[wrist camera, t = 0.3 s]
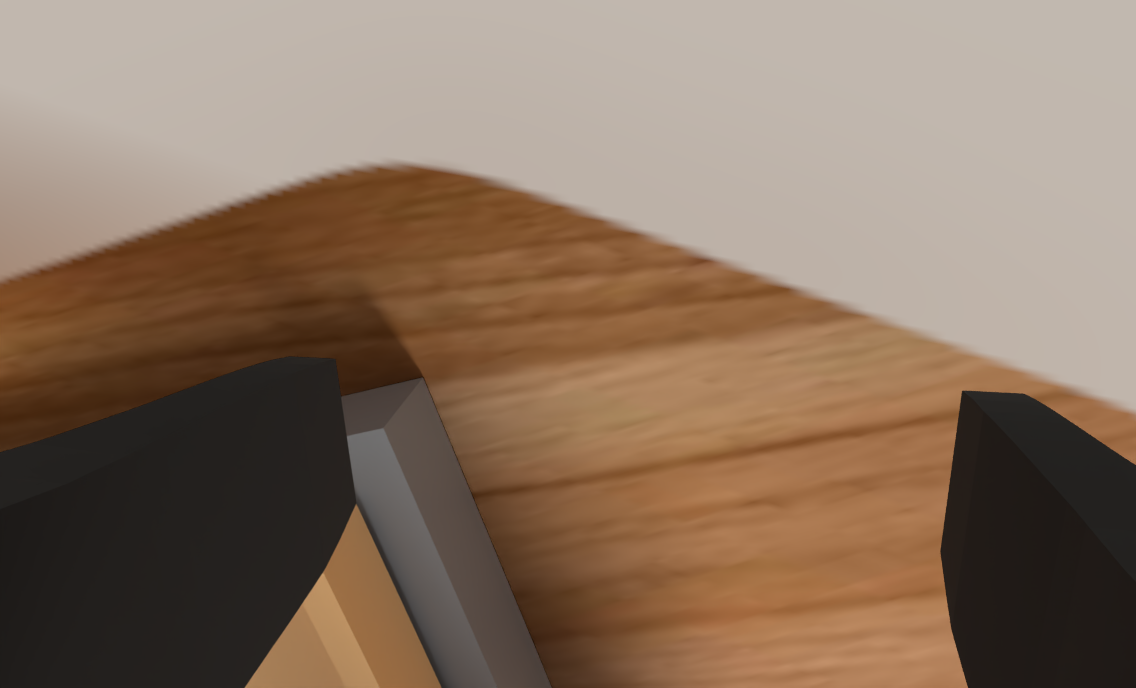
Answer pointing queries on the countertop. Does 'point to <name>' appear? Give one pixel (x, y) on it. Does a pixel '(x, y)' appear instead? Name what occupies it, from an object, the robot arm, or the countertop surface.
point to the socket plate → (436, 541)
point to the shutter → (349, 628)
